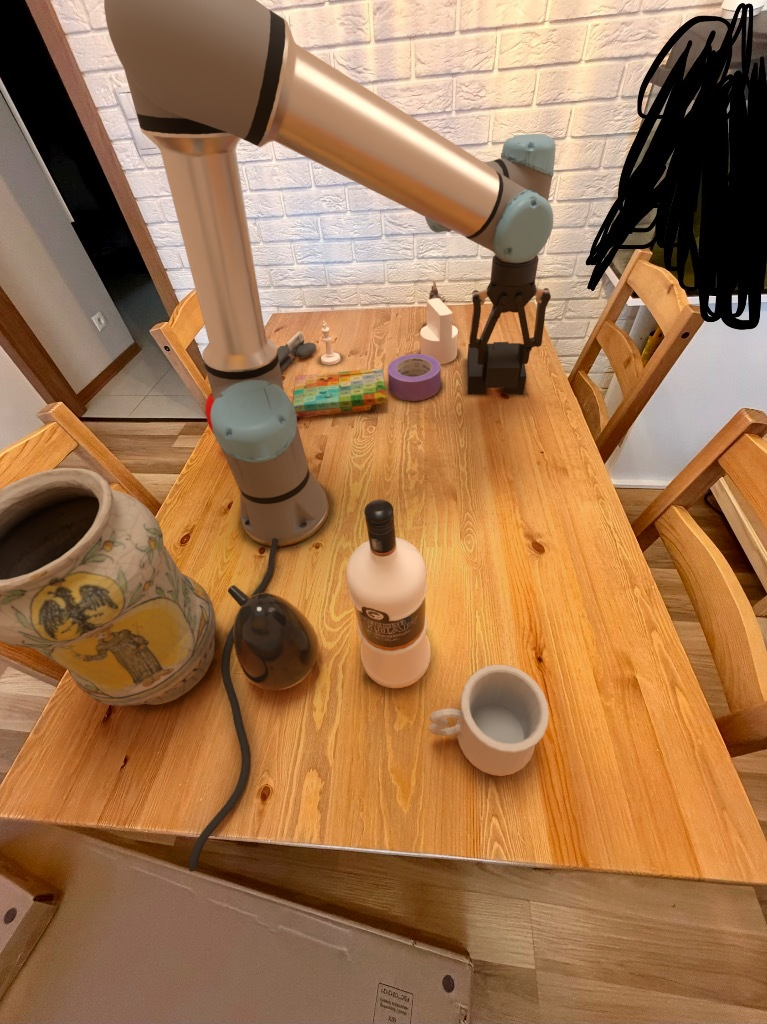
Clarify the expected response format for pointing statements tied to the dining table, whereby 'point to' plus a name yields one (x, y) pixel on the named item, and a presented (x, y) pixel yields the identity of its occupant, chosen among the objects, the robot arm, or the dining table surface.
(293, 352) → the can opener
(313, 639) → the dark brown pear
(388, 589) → the vodka
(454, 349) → the cylinder with rectangular tab
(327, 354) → the chess piece
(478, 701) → the mug
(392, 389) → the tape roll
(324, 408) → the puzzle game
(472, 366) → the notch pad
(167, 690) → the vase
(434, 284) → the figurine
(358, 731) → the dining table surface
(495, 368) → the pad
